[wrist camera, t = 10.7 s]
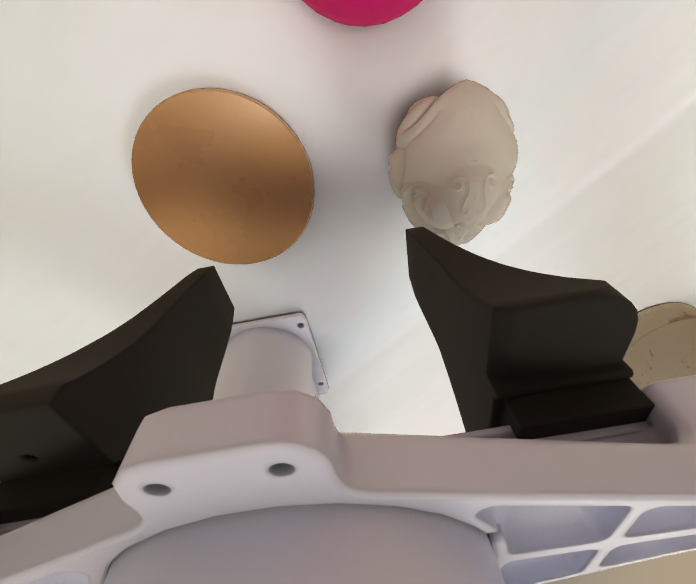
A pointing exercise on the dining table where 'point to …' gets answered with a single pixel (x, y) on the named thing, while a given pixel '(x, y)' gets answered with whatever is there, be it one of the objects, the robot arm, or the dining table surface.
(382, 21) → the pepper mill
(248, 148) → the copper coaster
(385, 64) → the dining table surface
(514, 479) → the robot arm
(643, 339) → the thermos bottle
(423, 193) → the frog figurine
